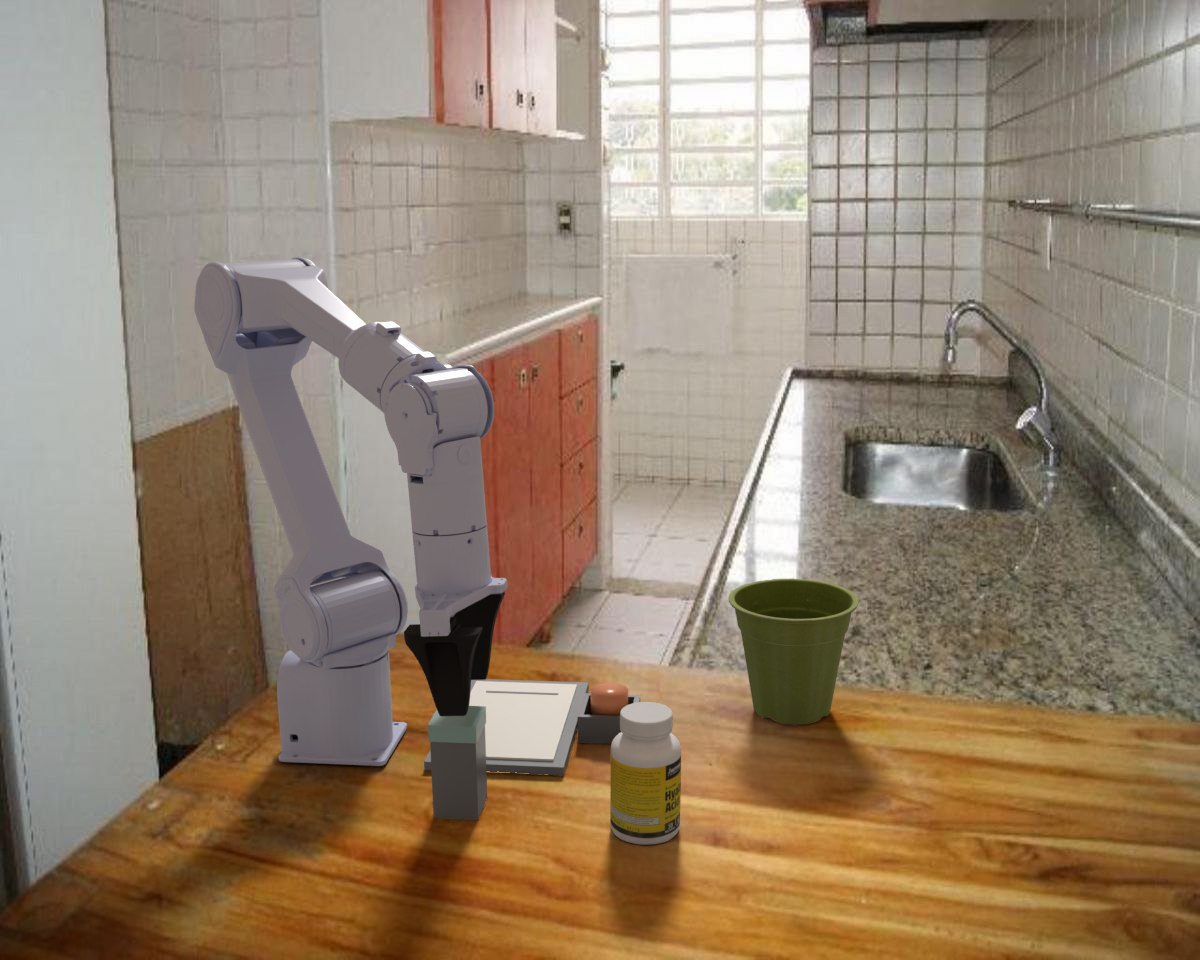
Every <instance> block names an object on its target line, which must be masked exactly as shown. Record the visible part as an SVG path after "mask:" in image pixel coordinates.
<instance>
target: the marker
mask: <svg viewBox="0 0 1200 960" xmlns="http://www.w3.org/2000/svg"><path fill="white" fill-rule="evenodd" d="M485 724H486V706H469V707H468V712H467V714H466V715H465V716H440V715H439V713H438V711H437V709H436V710H434V713H433V715H432V717H431V719H430V720H429V722H428V724H427V734H428V735H427V737H428V738H427V739H428V741H427V742H428V743H430V745H429V746H430V748H429V749H430V750H431V770H430V771H431V789H432V809H433V811H432V812H433V818H434V819H443V820H444V819H445V820H446V819H447V820H449V819H450V820H469V821H479V820H480V817H481V815H480V814H482V813H483V810H484V808H485V805H486V803H485V801H486V802H487V800H488V779H487V778H488V777H487V775H488V773H487V772H486V742H485ZM430 750H429V751H430ZM486 799H487V800H486ZM484 804H485V805H484ZM483 807H484V808H483ZM482 809H483V810H482ZM481 812H482V813H481Z"/></svg>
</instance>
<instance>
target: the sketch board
mask: <svg viewBox="0 0 1200 960" xmlns="http://www.w3.org/2000/svg"><path fill="white" fill-rule="evenodd" d="M584 693H589V682H581V681H580V682H579V681H552V680H551V681H549V680H527V679H526V680H523V679H522V680H521V679H498V678H497V679H496V678H495V679H492V678H489V679H488V678H486V680H471V691H470V702H469V706H486V724H485V742H486V771H490V772H497V771H499V772H510V773H515V772H517V773H529V774H542V775H541V776H545V775H544V774H548V775H547V776H549V775H560V776H559V777H564V776H565V773H566V769H567V766H568V763H569V759H570V756H569V755H571V753H570V752H571V751H572V749H573V745H574V742H575V738H576V735H577V733H578V719H577V717H578V713H579V710H580V706H581V703H582V700H583V696H584ZM567 762H568V763H567ZM423 767H424V769H423V770H424V771H431V750H429V752H428V753H427V755H426V758H425V759H424V762H423Z"/></svg>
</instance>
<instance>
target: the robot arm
mask: <svg viewBox="0 0 1200 960" xmlns="http://www.w3.org/2000/svg"><path fill="white" fill-rule="evenodd" d="M198 275H199V276H198V278H197V280H196V286H195V296H194V312H195V316H196V319H197V322H198V324H199V327H200V330H201V333H202V336H203V338H204V342H205V343H206V344H205V345H206V347H207V349H208V352H209V354H210V357H211V359H212V362H213V364H214V366H215V368H216V369H218V370H220V371H222V372H223V373H226V375H227V378H228V381H229V384H230V386H231V388H232V391H233V394H234V398H235V400H236V403H237V406H238V409H239V411H240V413H241V417H242V419H243V422H244V425H245V428H246V431H247V433H248V435H249V438H250V441H251V443H252V446H253V449H254V451H255V455H256V456H257V457H256V458H257V460H258V463H259V465H260V468H261V470H262V474H263V476H264V479H265V481H266V482H265V483H266V484H267V487H268V490H269V493H270V495H271V497H272V501H273V503H274V507H275V509H276V512H277V514H278V518H279V519H280V522H281V525H282V528H283V530H284V533H285V536H286V538H287V541H288V544H289V546H290V549H291V552H292V555H293V556H292V557H291V558H290V560H289V562H288V563H287V564H286V566H285V568H284V569H283V570H282V572H281V573H280V575H279V576H278V577H277V578H278V579H277V581H276V583H275V585H274V588H273V590H274V595H275V597H276V601H277V606H278V610H279V611H278V612H279V623H280V624H279V625H280V630H281V633H282V637H283V638H284V641H285V642H286V645H287V647H288V648H289V649H290V650H287V652H286V653H285V654H284V656H283V657H282V659H281V662H280V665H279V669H278V673H277V681H276V683H277V684H276V698H277V711H278V725H279V737H280V748H281V750H280V751H281V752H280V754H279V755H278V760H279V762H281V763H296V764H297V763H299V764H300V763H301V764H322V765H323V764H326V765H347V766H352V765H353V766H372V767H374V766H375V767H381V766H384V765H386V764H387V762H388V760H389V759H390V757H391V756H392V754H393V752H394V751H395V749H396V747H397V745H398V744H399V742H400V741H401V739H402V738H403V735H404V734H405V733H406V730H407V729H408V723H406V722H404V721H393V720H394V719H393V701H392V684H391V681H392V680H391V668H390V667H391V664H390V650H391V649H392V648H395V647H396V646H397V640H396V635H398V634H400V633H401V632H402V631H403V630H404V628H405V626H406V623H407V620H408V612H409V606H408V600H407V599H408V598H407V593H406V592H405V589H404V586H403V585H402V583H401V581H400V580H399V579H398V578H397V576H396V575H395V573H393V571H392V570H391V568H390V567H389V564H387V561H386V558H385V557H384V553H383V550H381V549H380V548H377V547H375V546H374V545H373V544H370V543H368V542H365V541H363V540H362V539H359V538H357V537H355V536H354V535H352V534H351V531H350V529H349V526H348V524H347V522H346V519H345V516H344V514H343V511H342V508H341V505H340V502H339V500H338V498H337V495H336V492H335V489H334V487H333V484H332V481H331V479H330V476H329V473H328V471H327V468H326V466H325V463H324V461H323V460H324V459H323V457H322V455H321V453H320V449H319V447H318V444H317V442H316V441H317V440H316V438H315V436H314V434H313V431H312V428H311V425H310V423H309V420H308V417H307V414H306V413H305V412H306V411H305V410H304V407H303V404H302V402H301V399H300V396H299V393H298V392H297V391H298V390H297V388H296V386H295V383H294V380H293V378H292V370H293V367H294V366H295V365H296V364H298V363H299V362H300V361H301V360H303V359H304V358H306V357H307V355H308V353H309V352H308V351H309V350H310V347H311V345H312V342H313V343H315V344H316V345H317V346H319V347H321V348H322V349H324V350H325V351H327V352H328V353H330V354H332V355H333V356H334V357H336V358H337V359H338V370H339V374H340V376H341V378H342V380H344V381H345V383H347V384H348V385H349V386H350V387H351V388H353V389H354V390H355V391H356V392H357V393H359V394H360V395H361V396H362V397H364V399H366V400H368V402H370V403H371V404H372V405H373V406H374V407H376V409H378V410H379V411H381V412H382V413H383V415H384V421H385V426H386V428H387V431H388V433H389V435H390V439H392V441H393V443H394V445H395V447H396V451H397V460H398V465H399V466H400V467H401V472H402V473H403V474H404V473H405V474H406V476H407V488H408V498H409V499H408V500H409V501H408V502H409V510H410V518H411V519H410V521H411V531H412V541H413V542H412V543H413V545H412V546H413V553H414V555H413V556H414V564H415V576H416V584H415V586H414V592H415V598H416V600H417V604H418V606H419V608H420V609H419V611H418V616H419V618H418V619H419V624H414V623H413V624H409V625H408V626H407V627H406V629H405V630H404V631H403V637H404V638H403V639H404V642H405V645H406V647H407V648H408V649H409V650H410V652H412V654H413V656H414V657H415V658H416V660H417V662H418V664H419V665H420V667H421V669H422V672H423V673H424V676H425V678H426V682H427V685H428V687H429V691H430V694H431V697H432V700H433V702H434V705H435V708H436V710H437V711H438V713H439V715H440V716H465V715H466V714H467V712H468V707H469V702H470V691H471V680H486V679H488V678H487V677H488V674H489V670H490V665H491V664H490V663H491V655H492V646H493V637H494V631H495V630H494V629H495V625H496V622H497V618H498V617H497V616H498V614H499V610H500V607H501V604H502V602H503V600H504V598H505V595H506V589H508V580H507V578H506V577H493V576H492V570H491V569H492V568H491V557H490V545H489V533H488V520H487V519H488V518H487V507H486V494H485V481H484V471H483V469H484V466H483V458H482V455H483V454H482V446H481V445H482V444H481V443H482V442H481V439H482V438H484V437H485V436H487V435H488V433H489V432H490V430H491V428H492V426H493V423H494V420H495V419H494V418H495V402H494V396H493V392H492V390H491V387H490V386H489V383H488V382H487V380H486V379H485V377H484V376H483V375H482V374H481V373H480V372H479V371H478V370H477V369H476V368H475V366H473V365H471V364H460V365H459V364H458V365H454V366H453V365H450V364H443V363H442V362H440V361H439V360H437V359H438V358H437V356H435V355H434V354H433V353H431V352H430V351H425V350H424V349H423V348H422V347H420V346H419V345H417V343H415V342H413V341H412V340H411V339H409V338H408V337H406V335H404V334H402V333H401V332H402V328H401V326H399V325H398V324H397V323H396V322H394V321H383V322H382V321H373V322H368V323H366V322H364V321H363V319H361V318H360V317H359V315H357V314H356V313H355V312H354V311H353V310H352V309H350V307H348V305H346V304H345V303H344V302H343V301H342V300H341V299H340V298H339V297H337V295H335V294H334V293H333V292H332V291H331V290H330V289H329V286H328V285H329V284H328V281H327V277H326V274H325V271H324V269H323V268H321V267H318V266H317V265H315V264H314V262H313V261H312V260H310V259H309V258H307V257H305V256H297V257H292V258H290V259H276V260H261V261H257V260H256V261H245V262H244V261H243V262H226V263H222V262H220V261H214V262H213V261H212V262H211V261H210V262H208V263H207V264H205V266H203V268H202V269H201V271H200V274H198Z"/></svg>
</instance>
